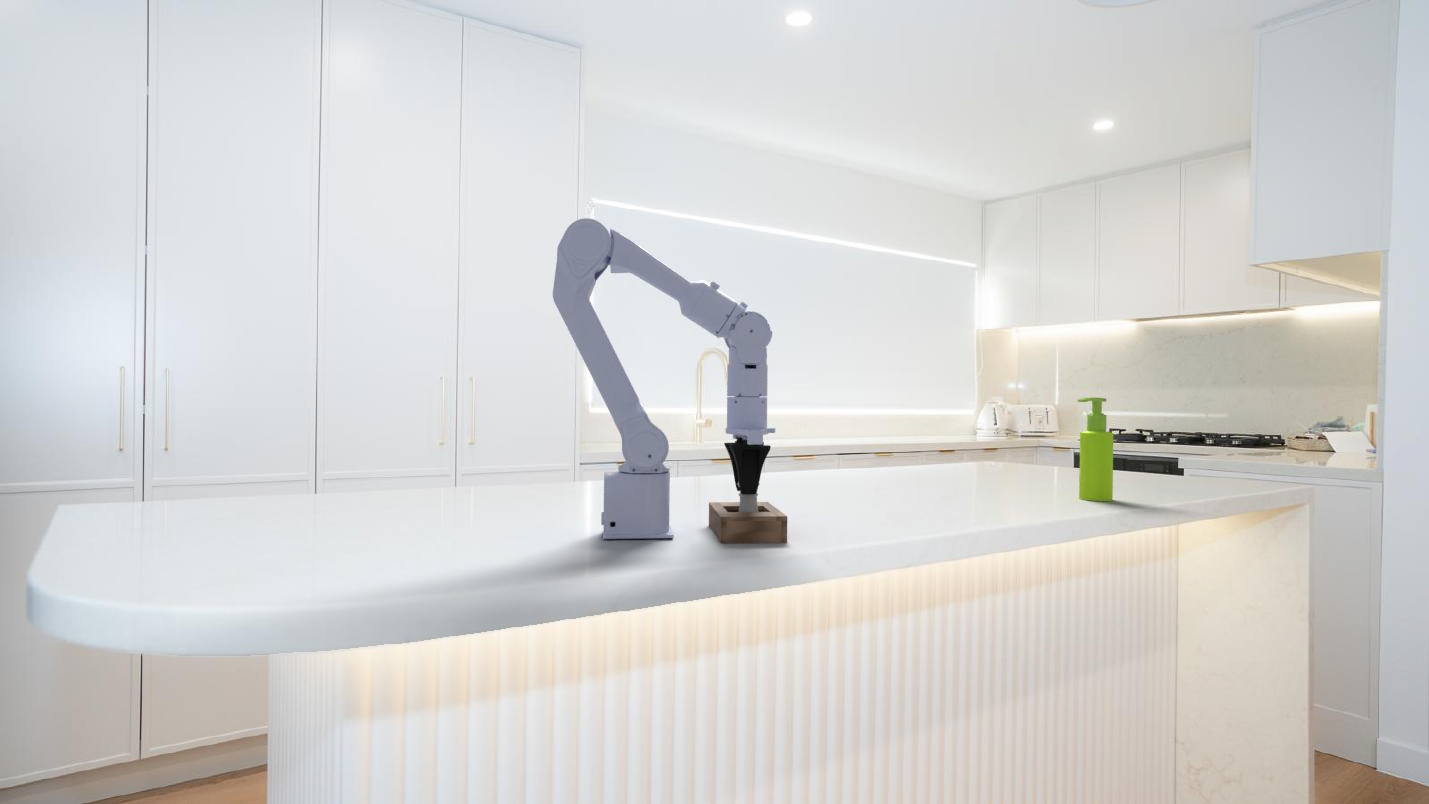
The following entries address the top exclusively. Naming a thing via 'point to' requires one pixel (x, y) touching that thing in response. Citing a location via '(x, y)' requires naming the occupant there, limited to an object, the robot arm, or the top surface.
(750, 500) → the rook chess piece
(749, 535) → the brown wooden hollow block
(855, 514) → the top surface
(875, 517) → the top surface
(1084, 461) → the soap dispenser
